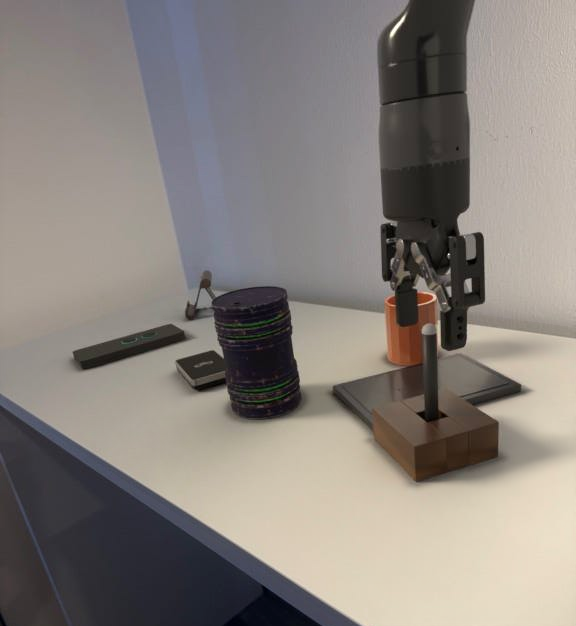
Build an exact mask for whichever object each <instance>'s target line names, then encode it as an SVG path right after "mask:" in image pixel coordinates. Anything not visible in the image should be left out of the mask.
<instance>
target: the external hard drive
mask: <svg viewBox="0 0 576 626" xmlns="http://www.w3.org/2000/svg"><path fill="white" fill-rule="evenodd" d="M174 365H175V368H176V371H178V373H179V374H180V375H181V376H182V377H183V379H184V380H185V381H186V382H187V384H188V385H190V387H191V388H192V389H193V390H194V391H199V390H203V389H207V388H209V387H212V386H216V385H219V384H222V383H227V382H226V377H225V370H226V367H225V362H224V357H223V355H221V354H220V353H219V352H217V351H216V350H215V349H211V350H207V351H204V352H200V353H195V354H192V355H189V356H185V357H181V358H177V359H175V360H174Z"/></svg>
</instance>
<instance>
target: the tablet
mask: <svg viewBox="0 0 576 626" xmlns="http://www.w3.org/2000/svg"><path fill="white" fill-rule="evenodd" d="M437 364H438V390H442V389H445V388H447V389H448V390H450V391H451V392H453V393H454V394H456V395H458V396H459V397H461V398H462V399H464V400H465V401H467V402H468V403H470V404H471V405H473V406H475V405H478V404H481V403H485V402H488V401H492V400H497V399H499V398H502V397H503V398H504V397H506V396H509V395H513V394H517V393H520V392H522V383H519V382H517V381H516V380H514V379H512V378H510V377H508V376H506V375H504V374H502V373H500V372H498V371H496V370H495V369H492V368H490V367H488V366H486V365H485V364H483V363H481V362H479V361H478V360H475V359H473V358H471V357H469V356H467V355H466V354H463V353H461V352H459V353H455V354H452V355H447V356H443V357H440V358H437ZM332 392H333V393H334V394H335V396H337V397H338V398H339V400H341V402H342V403H344V404H345V406H347V407H348V408H349V409H350V410H351V411H352V412H353V413H354V414H355V415H356V416H357V417H358V418H359V419H360V421H362V422H363V423H364V424H365V425H366V426H367V427H368V428H369V429H370V430H371V431H372V432H373V433H374V431H373V419H372V408H375V407H379V406H383V405H386V404H390V403H394V402H397V401H401V400H405V399H409V398H412V397H416V396H420V395H423V394H424V376H423V363H420V364H416V365H412V366H403V367H400V368H397V369H392V370H388V371H385V372H381V373H377V374H373V375H370V376H366V377H361V378H357V379H354V380H350V381H346V382H342V383H338V384H335V385H332Z"/></svg>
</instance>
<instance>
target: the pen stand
mask: <svg viewBox="0 0 576 626" xmlns="http://www.w3.org/2000/svg"><path fill="white" fill-rule="evenodd" d="M438 406H439V420H435V421H432V422H428V423H427V422H426V421H425V404H424V394H423V395H420V396H416V397H412V398H409V399H405V400H401V401H397V402H394V403H390V404H386V405H383V406H379V407H375V408H372V419H373V431H374V432H373V431H372V432H373V440H374V441H375V442H376V443H377V444H378V445H379V446H380V447H381V448H382V450H384V451H385V453H387V455H389V456H390V457H391V458H392V460H393V461H395V462H396V464H398V466H400V467H401V468H402V469H403V470H404V471H405V473H406V474H408V476H410V477H411V478H412V480H413V481H414V482H419V481H423V480H427V479H429V478H432V477H436V476H439V475H442V474H445V473H449V472H452V471H454V470H455V471H456V470H458V469H462V468H465V467H468V466H472V465H474V464H477V463H481V462H483V461H487V460H490V459H493V458H497V457H498V456H499V431H500V422H499V421H498V420H497V419H494V418H493V417H492V416H491V415H489V414H487V413H486V412H484V411H483V410H481V409H480V408H478V407H476V406H475V405H471V404H470V403H468V402H467V401H465V400H464V399H462V398H461V397H459V396H458V395H456V394H454V393H453V392H451V391H450V390H448V389H447V388H445V389H442V390H438Z"/></svg>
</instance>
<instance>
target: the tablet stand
mask: <svg viewBox="0 0 576 626" xmlns="http://www.w3.org/2000/svg"><path fill="white" fill-rule="evenodd" d="M212 277H213V274H212V272H211V270H203V272H202V274H201V277H200V278H201V279H200V282H199V287H198V292H197V296H196V300H195V302H194V304H191V303H190V300H187V301H186V307H185V309H184V315H185V319H187V320H189V321H192V320H193V319H194V318H195V317H196V311H197V307H198V302H199V298H200V295H201V290H202V289H205V291H206V292H207V294H208V296H209V297H210V298H211V301H212V300H213V299H215V298H216V297H217V296H216V294H215V293H214V292H213V290H212V288H211V286H212Z"/></svg>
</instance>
